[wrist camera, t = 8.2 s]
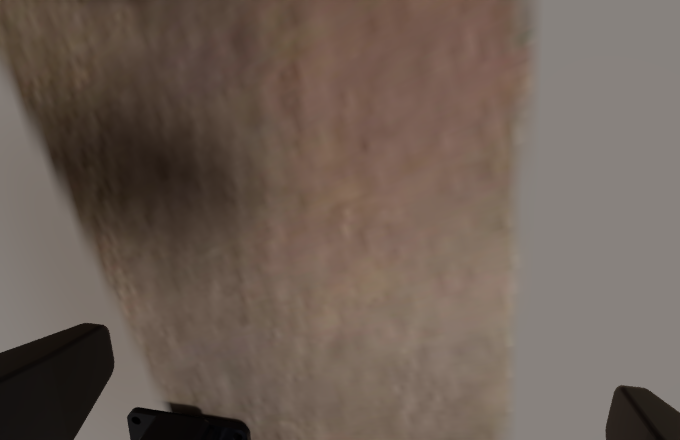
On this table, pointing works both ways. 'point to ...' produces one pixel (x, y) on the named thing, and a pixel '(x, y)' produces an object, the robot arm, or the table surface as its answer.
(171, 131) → the table surface
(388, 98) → the table surface
